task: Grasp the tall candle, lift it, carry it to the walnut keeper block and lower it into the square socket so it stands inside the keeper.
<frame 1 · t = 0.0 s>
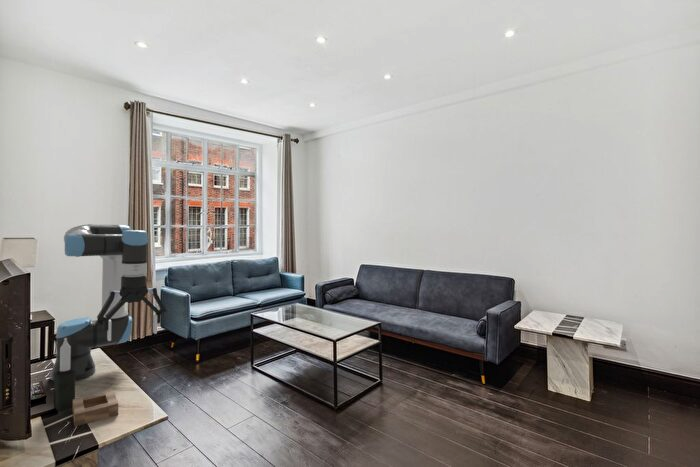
hand: (132, 336, 121), 28 cm above the table, fingers open, 13 cm apart
keeper: (95, 412, 123), on the table
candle: (64, 406, 126), on the table
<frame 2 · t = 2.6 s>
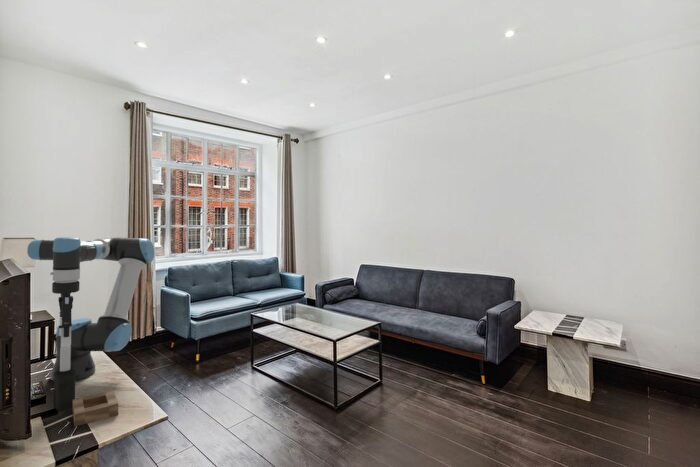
hand: (64, 340, 125), 24 cm above the table, fingers open, 13 cm apart
nothing on the table moved.
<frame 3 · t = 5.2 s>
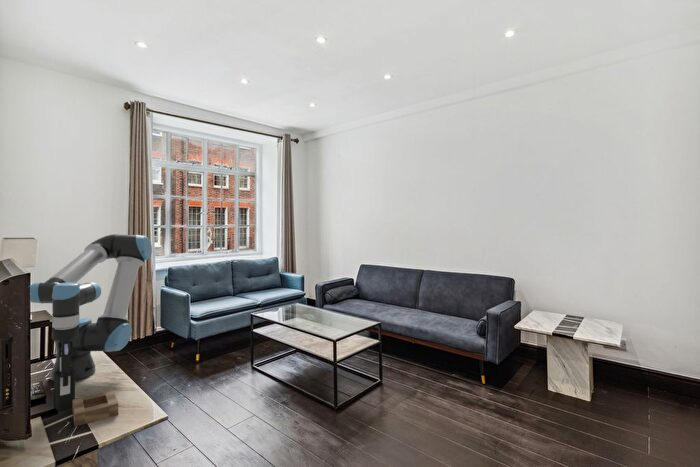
hand: (64, 390, 126), 6 cm above the table, fingers closed on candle, 6 cm apart
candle: (64, 406, 126), on the table, touching gripper
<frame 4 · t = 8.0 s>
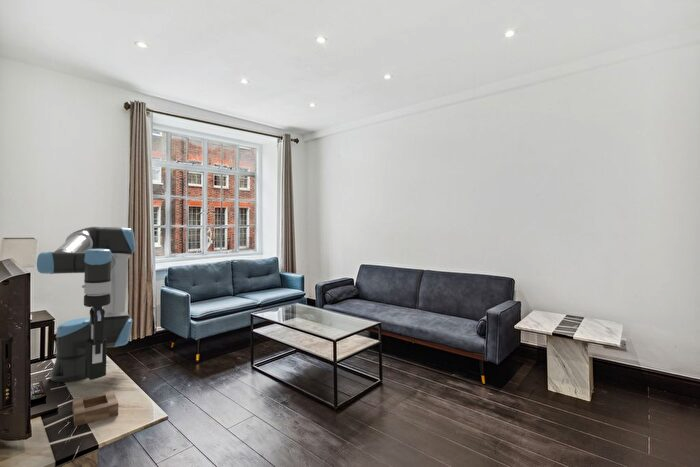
hand: (96, 359, 122), 19 cm above the table, fingers closed on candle, 6 cm apart
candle: (95, 376, 122), point 13 cm above the table, touching gripper
when the fingers open (7 cm above the table, at t = 10.7 s): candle drops 1 cm, resting in keeper.
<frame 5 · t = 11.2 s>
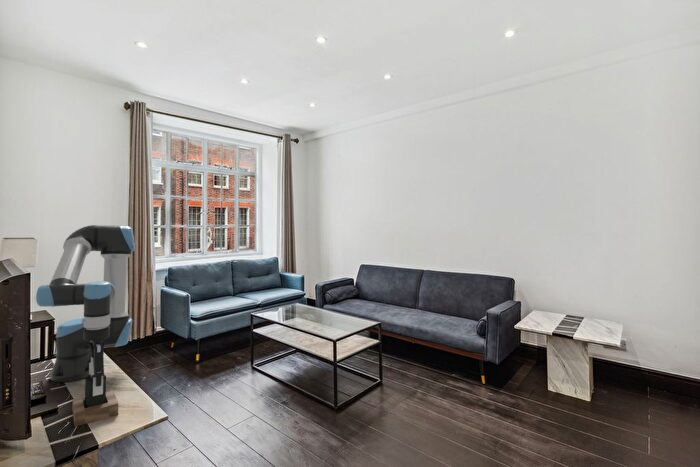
hand: (95, 387, 123), 9 cm above the table, fingers open, 13 cm apart
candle: (95, 413, 123), resting in keeper
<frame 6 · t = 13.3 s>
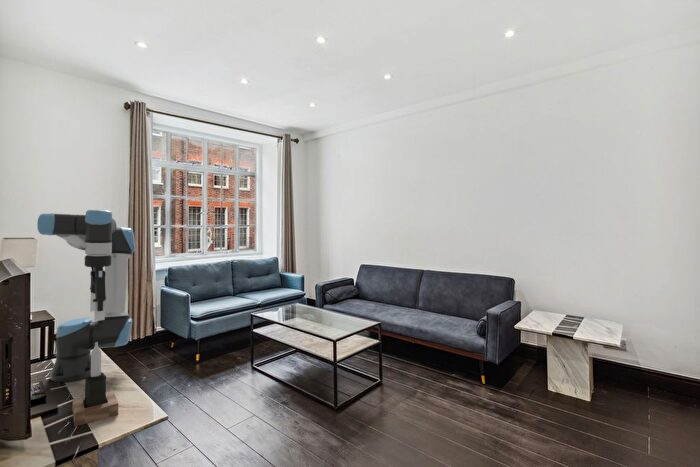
hand: (97, 315, 122), 34 cm above the table, fingers open, 13 cm apart
nothing on the table moved.
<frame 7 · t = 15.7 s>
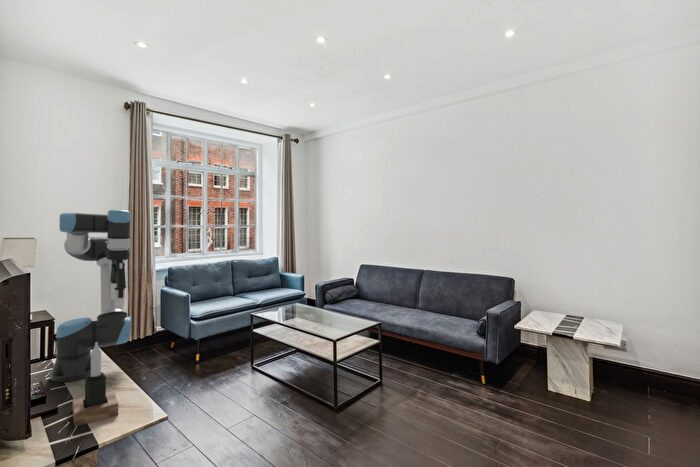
hand: (117, 302, 139), 35 cm above the table, fingers open, 13 cm apart
nothing on the table moved.
at the end: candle 0.1 cm off-centre on the keeper, point 0.0 cm above the keeper's base; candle tilted 0°; the gripper is holding nothing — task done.
